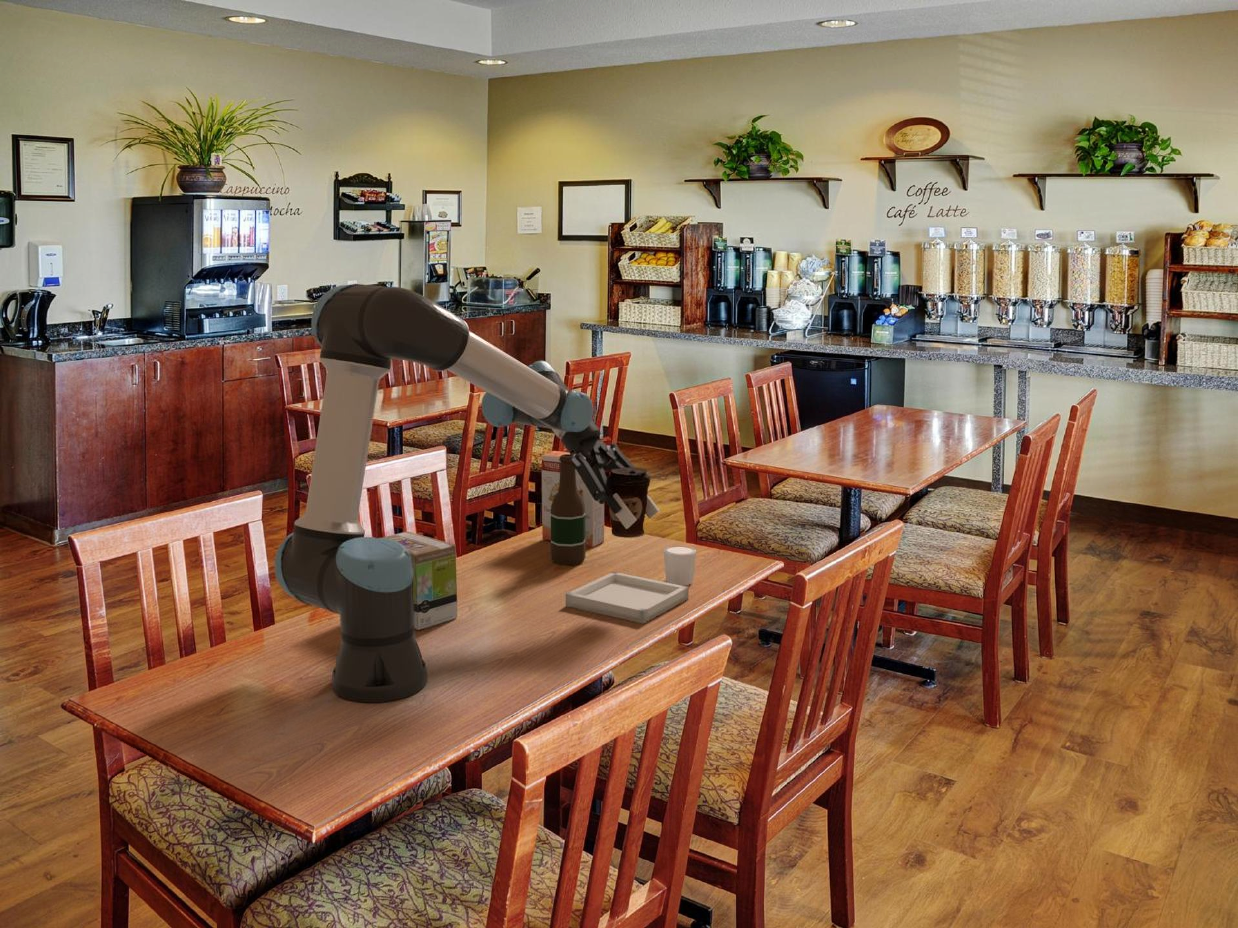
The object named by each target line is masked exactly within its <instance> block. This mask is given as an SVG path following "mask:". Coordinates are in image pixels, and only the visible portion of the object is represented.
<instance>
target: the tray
mask: <svg viewBox="0 0 1238 928" xmlns="http://www.w3.org/2000/svg"><path fill="white" fill-rule="evenodd" d="M689 591H690V588H689V586H681V585H676V584H671V583H667V582H666V581H661V580H657V579H651V578H645V577H641V576H636V575H631V574H626V573H621V572H617V571H612V572H610V573H607V574H606V575H603V576H601V577H599V578H597V579H594V580H592V581H590V582H589V583H586V584H584V585H581V586H580V587H578V588H576V589H573V590H571V591H568V592H567V593H565V607H569V608H573V609H577V610H581V611H585V612H586V611H587V612H590V613H595V614H600V615H604V616H607V617H612V618H617V619H621V620H625V621H629V622H633V621H634V622H635V623H639V624H642V625H643V623H644V624H646V623H648V622H649V620H650V619H651V620H653V619H655V618H657V617H658V615H659V616H660V615H663V614H664V613H666V612H668V611H669V610H672V609H673V608H675V607H676V605H677V606H679V605H680V604H682V603H683V602H682V601H684V602H686V601H687V599H688V600H689V597H690V596H689ZM685 600H686V601H685ZM681 602H682V603H681ZM679 603H680V604H679ZM678 604H679V605H678ZM667 610H668V611H667ZM656 616H657V617H656ZM651 620H650V621H651ZM647 621H648V622H647Z"/></svg>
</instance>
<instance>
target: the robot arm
mask: <svg viewBox="0 0 1238 928" xmlns="http://www.w3.org/2000/svg"><path fill="white" fill-rule="evenodd" d="M310 325H311V331H312V335H313V336H314V337H315V341H316V342H317V344H318V346H320V355H319V362H321V363H322V365H323V367H324V368H325V371H326V376H325V384H324V390H323V396H322V397H323V398H322V403H321V410H320V415H319V423H318V430H317V434H316V435H317V436H316V443H315V449H314V454H313V455H314V457H313V460H312V461H313V462H312V468H311V474H310V481H309V489H308V494H307V502H306V505H305V506H306V507H305V512H304V513H303V515H301V516H300V517H299V518H297V519H296V520H294V524H293V529H292V533H291V532H290V534H288V535H287V536H285V539H284V541H283V542H280V544H279V546H278V548H277V550H276V552H275V556H274V561H273V563H274V565H273V566H274V575H275V579H276V581H277V583H278V585H279V587H281V589H282V590H283V591H284V592H285V593H286V594H287V595H289V596H290V597H291V598H294V599H296V600H297V601H298V602H300V603H303V604H306V605H308V606H309V605H310V606H315V607H317V608H320V609H323V610H325V611H328V612H332V613H334V614H336V615H339V621H340V623H339V624H340V639H341V640H340V645H339V646H340V647H339V649H338V653H337V657H336V660H335V666H334V668H333V671H332V672H331V673H332V674H331V683H332V684H331V685H332V687H331V688H332V691H333V692H334V694H335V695H336V696H338V697H340V698H342V699H344V700H349V701H352V702H357V703H359V702H360V703H383V702H391V701H397V700H400V699H403V698H406V697H409V696H412V695H414V694H416V693H418V692H419V691H421V690H422V689H424V688H425V686H426V685H427V683H428V670H427V668H428V667H427V665H426V662H425V661H424V660H423V655H422V652H421V650H420V646H419V644H418V642H417V638H416V634H415V629H414V593H413V574H414V572H413V569H412V562H411V556H410V553H409V551H408V550H407V549H406V548H405V547H404V546H403V545H402V544H400V543H398V542H395V541H393V540H390V539H385V538H382V537H378V538H379V539H378V538H377V537H374V536H365V534H366V530H365V529H364V527H363V526H362V525H361V523H360V522H359V513H360V506H361V500H362V494H363V487H364V480H365V475H366V469H367V461H368V455H369V447H370V443H371V442H370V441H371V437H372V430H373V429H372V428H373V422H374V417H375V415H374V414H375V409H376V404H377V403H376V402H377V397H378V390H379V383H380V380H381V379H382V378H383V377H385V376H386V375H388V373H390V372H391V366H392V360H401V361H406V362H412V363H417V364H420V365H424V366H426V367H428V368H430V369H431V370H434V371H436V372H445V371H448V372H450V373H452V374H454V375H455V376H457V377H459V378H461V379H463V380H464V381H465V382H468V383H470V384H471V385H473V386H475V387H477V388H479V389H480V390H483V391H485V393H484V394H483V397H482V399H481V412H482V414H483V417H484V418H485V420H486V422H487V423H489V424H490V425H491V426H493V427H495V428H502V427H509V426H511V425H512V424H520V425H527V426H532V427H536V428H537V427H540V428H544V429H551V430H552V432H553V433H554V434H555V436H556V437H557V438H558V439H561V444H562V445H563V446H564V448H565V449H566V451H567V452H568V453H570V454H571V455H575V456H574V457H573V458H572V459H571V460H570V464H571V465H572V466H573V467H574V468H575V469H576V470H577V472H578V474H579V475H580V477H581V479H582V480H583V482H584V484H585V485H586V487H587V489H588V490H589V492H590V494H591V495H592V497H593V498H594V500H595V501H598V502H599V503H600V504H604V505H605V504H606V505H607V506H608V508H609V507H610V508H609V510H610V509H611V510H612V511H613V513H615V515H616V516H617V517H618V519H619V520H620V521H621V523H622V524H623V525H624V527H625V528H626V529H627V528H629V527H630V526H631V525H632V524H633V523H634V522H635V521H636V520H637V519H636V518H635V517H634V515H633V514H632V513H631V511H630V510H629V509H628V507H627V506H626V505H625V503H624V502H623V501H622V499H621V498H620V497H619V496H618V494H617V493H616V494H614V495H613V492H612V489H611V487H610V485H609V482H608V480H607V478H608V476H607V475H606V472H605V471H608V472H609V474H611V470H612V469H620V468H630V467H635V466H634V465H633V464H632V463H631V461H630V460H629V459H628V458H627V457H626V456H625V454H623V453H622V451H621V449H620V448H619V446H618V445H617V443H615V442H612V443H611V444H610V445H607V444H606V443H605V442H604V441H602V440H601V437H600V436H601V433H602V431H601V430H600V429H599V427H598V426H597V425H596V423H595V422H594V421H593V420H592V418H593V415H594V406H593V401H592V400H591V398H590V396H589V395H588V394H586V393H584V392H581V391H577V390H570V389H569V388H568V386H567V385H566V383H564V381H563V380H562V378H561V377H560V375H559V373H558V372H556V371H555V370H554V369H553V367H552V366H551V365H550V364H549V363H548V362H547V361H545V360H537V361H534V362H533V363H531V364H529V365H525V364H524V363H522V362H521V361H519V360H517V359H516V358H514V357H513V356H511V355H509V354H508V353H506V352H504V351H503V350H502V349H500V348H498V347H496V346H495V345H493V344H492V343H490V342H488V341H487V340H485V339H483V338H482V337H481V336H479V335H476V333H473V332H472V331H471V330H470V328H469V325H468V323H467V322H466V321H465V320H464V319H462V318H461V317H459V316H458V315H456V314H454V313H453V312H451V311H449V310H448V309H446V308H444V307H443V306H441V305H440V304H438V303H436V302H435V301H432V300H431V299H429V298H427V297H425V296H424V295H422V294H421V293H417V292H415V291H413V290H410V289H407V288H405V287H399V286H383V285H382V286H381V285H370V284H361V283H353V284H352V283H351V284H343V285H337V286H335V287H332V288H330V289H329V290H327V292H325V293H323V294H322V296H321V297H320V298H319V299H318V301H317V303H316V304H315V306H314V308H313V310H312V315H311V324H310ZM597 491H598V493H596V492H597ZM660 511H661V510H660V508H659V507H658V506H657V504H656V503H655V502H654V501H653V499H652V498H651V497H650V495H649V494H648V495H647V510H646V513H645V516H647V517H648V519H649V520H651V519H653V518H654V516H656V515H657V514H658V513H659V512H660Z"/></svg>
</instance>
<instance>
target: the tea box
mask: <svg viewBox="0 0 1238 928" xmlns="http://www.w3.org/2000/svg"><path fill="white" fill-rule="evenodd" d="M379 538H380V537H378V538H377V539H379ZM381 538H385V539H390V540H393V541H395V542H398V543H400V544H402V545H403V546H404V547H405V548H406V549H407V550H408V551H409V553H410V556H411V562H412V569H413V572H414V574H413V593H414V630H417V631H419V630H423V629H427V628H430V627H434V626H437V625H440V624H443V623H445V622H446V623H447V622H450V621H452V620H454V619H457V618H458V587H457V586H458V584H457V581H458V580H457V552H456V551H457V549H456V548H457V547H456V544H455V543H450V542H448V541H443V540H439V539H436V538H433V537H430V536H425V535H422V534H418V533H416V532H411V531H404V532H399V533H395V534H391V535H388V536H383V537H381Z"/></svg>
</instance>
